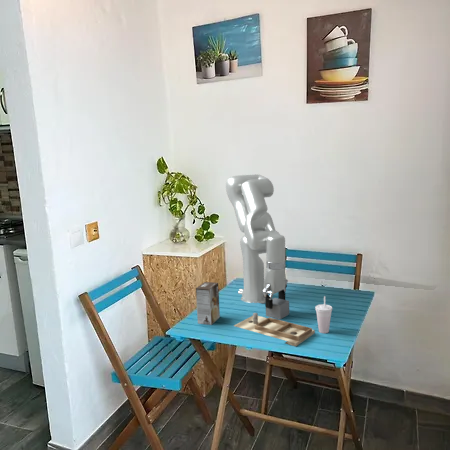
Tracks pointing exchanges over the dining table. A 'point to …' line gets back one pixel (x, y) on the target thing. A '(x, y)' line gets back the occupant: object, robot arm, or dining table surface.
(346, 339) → the dining table surface
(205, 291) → the coffee box
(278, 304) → the gray cube
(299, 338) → the board
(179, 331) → the dining table surface
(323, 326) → the smoothie
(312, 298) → the dining table surface
